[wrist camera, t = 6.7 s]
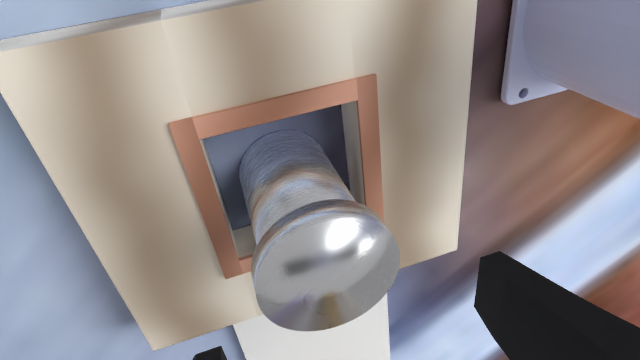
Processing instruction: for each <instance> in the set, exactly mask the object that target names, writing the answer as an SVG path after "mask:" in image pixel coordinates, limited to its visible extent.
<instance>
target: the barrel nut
mask: <svg viewBox="0 0 640 360" xmlns="http://www.w3.org/2000/svg"><path fill="white" fill-rule="evenodd" d="M239 177H240V182H241V186H242V190H243V194H244V198H245V202H246V206H247V210H248V214H249V218H250V222H251V225H252V229H253V233H254V237H255V241H256V245H257V246H256V248H255V251H254V253H253V257H252V261H251V276H252V281H253V285H254V290H255V294H256V299H257V302H258V305H259V308H260V309H261V311H262V313H263V314H264V315H265V316H266V317H267V318H268V319H269V320H270V321H271V322H273V323H275V324H276V325H278V326H280V327H283V328H286V329H290V330H294V331H307V332H309V331H320V330H326V329H330V328H334V327H337V326H340V325H343V324H345V323H347V322H350V321H352V320H354V319H356V318H357V317H359V316H361V315H362V314H364V313H366V312H367V311H368V310H370V309H371V308H372V307H373V306H375V305H376V304H377V303H378V302H379V301H380V300H381V299H382V298H383V297H384V296H385V294H386V293H387V292H388V290H389V289H390V288H391V286H392V284H393V283H394V281H395V278H396V276H397V274H398V270H399V266H400V251H399V247H398V244H397V242H396V240H395V238H394V237H393V235H392V234H391V232H390V231H389V230H388V228H387V227H386V225H385V224H384V222H383V221H382V219H381V218H380V217H379V216H378V214H377V213H376V212H375V211H373V210H372V209H371V208H369V207H367V206H365V205H363V204H361V203H358V202H356V201H355V199H354V198H353V196H352V195H351V193H350V192H349V190H348V188H347V187H346V185H345V184H344V182H343V181H342V179H341V178H340V176H339V174H338V173H337V171H336V170H335V168H334V167H333V165H332V164H331V162H330V160H329V159H328V157H327V156H326V154H325V153H324V151H323V150H322V148H321V146H320V145H319V144H318V143H317V141H316V140H314V139H313V138H312V137H311V136H309V135H307V134H305V133H302V132H299V131H294V130H281V131H276V132H272V133H270V134H267V135H265V136H263V137H261V138H260V139H258V140H257V141H256V142H254V143H253V144H252V145H251V146H250V147H249V148H248V150H247V151H246V153H245V154H244V156H243V158H242V161H241V164H240V168H239Z"/></svg>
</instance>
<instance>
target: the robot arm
mask: <svg viewBox="0 0 640 360" xmlns="http://www.w3.org/2000/svg"><path fill="white" fill-rule="evenodd" d="M522 89H523V90H522ZM569 89H570V90H572V91H574V92H577V93H579V94H581V95H584V96H586V97H589V98H591V99H593V100H596V101H598V102H600V103H603V104H605V105H608V106H610V107H612V108H615V109H617V110H620V111H622V112H624V113H627V114H629V115H631V116H634V117H636V118H639V119H640V0H513V4H512V12H511V20H510V27H509V35H508V43H507V51H506V59H505V67H504V75H503V83H502V90H501V100H502V101H503V102H504V103H506V104H508V105H514V104H518V103H521V102H525V101H529V100H532V99H536V98H540V97H543V96H547V95H551V94H554V93H558V92H562V91H565V90H569ZM521 90H522V92H521V93H520V91H521ZM519 93H520V94H519ZM474 307H475V309H476V310H477V312H478V314H479V315H480V317H481V319H482V320H483V322H484V324H485V325H486V327H487V328H488V330H489V332H490V333H491V335H492V336H493V338H494V339H495V341H496V342H497V343H498V345H499V346H500V347H501V349H502V350H503V351H504V352H505V354H506V355H507V356H508V358H509V359H510V360H640V328H639V327H637V326H635V325H633V324H631V323H629V322H627V321H625V320H623V319H621V318H619V317H617V316H615V315H613V314H611V313H609V312H607V311H605V310H603V309H601V308H599V307H597V306H596V305H594V304H592V303H590V302H588V301H586V300H584V299H583V298H581V297H579V296H577V295H575V294H573V293H572V292H570V291H568V290H566V289H565V288H563V287H561V286H559V285H557V284H556V283H554V282H552V281H550V280H549V279H547V278H545V277H544V276H542V275H540V274H538V273H537V272H535V271H533V270H532V269H530V268H528V267H526V266H525V265H523V264H521V263H520V262H518V261H516V260H514V259H513V258H511V257H509V256H507V255H506V254H504V253H502V252H500V251H499V252H496V253H493V254H490V255H487V256H484V257H481V258H480V264H479V272H478V280H477V288H476V296H475V303H474ZM193 360H227V358H226V356H225V354H224V351H223V349H222V347H221V346H219V347H216V348H213V349H210V350H207V351H205V352H202V353H199V354H196V355H195V357H194V358H193Z"/></svg>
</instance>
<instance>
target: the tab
mask: <svg viewBox="0 0 640 360" xmlns="http://www.w3.org/2000/svg"><path fill="white" fill-rule="evenodd" d="M233 327H234V329H235V332H236V334H237V337H238V340H239V342H240V345H241V347H242V350H243V353H244V355H245V358H246V360H390V344H389V325H388V306H387V293H386V294H385V296H384V297H383V298H382V299H381V300H380V301H379V302H378V303H377V304H376V305H375V306H373V307H372V308H371V309H370V310H368V311H367V312H366V313H364V314H362V315H361V316H359V317H357V318H356V319H354V320H352V321H350V322H347V323H345V324H343V325H340V326H337V327H334V328H330V329H326V330H320V331H309V332H307V331H294V330H290V329H286V328H283V327H280V326H278V325H276V324H275V323H273V322H271V321H270V320H269V319H268V318H267V317H266V316H265V315H264V314H263V315H260V316H257V317H254V318H251V319H248V320H245V321H242V322H239V323H236V324H233Z"/></svg>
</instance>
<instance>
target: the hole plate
mask: <svg viewBox="0 0 640 360" xmlns="http://www.w3.org/2000/svg"><path fill="white" fill-rule="evenodd" d="M476 11H477V0H207V1H202V2H197V3H192V4H186V5H181V6H176V7H170V8H165V9H160V10H155V11H149V12H144V13H139V14H134V15H128V16H123V17H118V18H112V19H107V20H102V21H97V22H91V23H86V24H81V25H76V26H70V27H65V28H60V29H54V30H49V31H44V32H39V33H33V34H28V35H23V36H17V37H12V38H7V39H2V40H1V41H0V93H1V94H2V96H3V98H4V99H5V101H6V103H7V104H8V106H9V108H10V109H11V111H12V113H13V115H14V116H15V118H16V120H17V121H18V123H19V125H20V126H21V128H22V130H23V131H24V133H25V135H26V137H27V138H28V140H29V142H30V143H31V145H32V147H33V148H34V150H35V152H36V153H37V155H38V157H39V158H40V160H41V162H42V164H43V165H44V167H45V169H46V170H47V172H48V174H49V175H50V177H51V179H52V180H53V182H54V184H55V185H56V187H57V189H58V191H59V192H60V194H61V196H62V197H63V199H64V201H65V202H66V204H67V206H68V207H69V209H70V211H71V212H72V214H73V216H74V218H75V219H76V221H77V223H78V224H79V226H80V228H81V229H82V231H83V233H84V234H85V236H86V238H87V239H88V241H89V243H90V245H91V246H92V248H93V250H94V251H95V253H96V255H97V256H98V258H99V260H100V261H101V263H102V265H103V267H104V268H105V270H106V272H107V273H108V275H109V277H110V278H111V280H112V282H113V283H114V285H115V287H116V288H117V290H118V292H119V294H120V295H121V297H122V299H123V300H124V302H125V304H126V305H127V307H128V309H129V310H130V312H131V314H132V315H133V317H134V319H135V321H136V322H137V324H138V326H139V327H140V329H141V331H142V332H143V334H144V336H145V337H146V339H147V341H148V342H149V344H150V346H151V348H152V349H153V351H156V350H159V349H162V348H165V347H168V346H171V345H174V344H176V343H179V342H182V341H185V340H188V339H191V338H194V337H197V336H200V335H203V334H206V333H209V332H212V331H215V330H218V329H221V328H224V327H227V326H230V325H233V324H236V323H239V322H242V321H245V320H248V319H251V318H254V317H257V316H260V315H263V313H262V311H261V309H260V308H259V305H258V302H257V299H256V294H255V290H254V285H253V281H252V276H251V261H252V257H253V253H254V251H255V248H256V246H257V245H256V241H255V237H254V233H253V229H252V225H249V226H246V227H242V228H239V229H235V230H232V227H231V223H230V220H229V217H228V214H227V211H226V208H225V205H224V202H223V199H222V196H221V192H220V189H219V186H218V183H217V180H216V177H215V174H214V171H213V168H212V165H211V161H210V158H209V155H208V152H207V149H206V146H205V143H204V140H203V139H204V138H208V137H212V136H216V135H220V134H224V133H228V132H232V131H236V130H240V129H244V128H248V127H252V126H256V125H260V124H264V123H268V122H272V121H276V120H280V119H284V118H288V117H292V116H296V115H300V114H304V113H308V112H312V111H316V110H320V109H324V108H328V107H332V106H336V105H340V104H341V109H342V118H343V128H344V137H345V147H346V156H347V166H348V175H349V185H350V193H351V195H352V196H353V198H354V199H355V201H356V202H358V203H361V204H363V205H365V206H367V207H369V208H371V209H372V210H373V211H375V212H376V213H377V214H378V216H379V217H380V218H381V219H382V221H383V222H384V224H385V225H386V227H387V228H388V230H389V231H390V232H391V234H392V235H393V237H394V238H395V240H396V242H397V244H398V247H399V251H400V266H399V269H401V268H404V267H407V266H410V265H413V264H416V263H419V262H422V261H425V260H428V259H431V258H434V257H437V256H440V255H443V254H446V253H449V252H452V251H455V250H457V243H458V231H459V219H460V206H461V194H462V182H463V170H464V158H465V145H466V133H467V121H468V109H469V97H470V84H471V72H472V60H473V48H474V36H475V23H476Z"/></svg>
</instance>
